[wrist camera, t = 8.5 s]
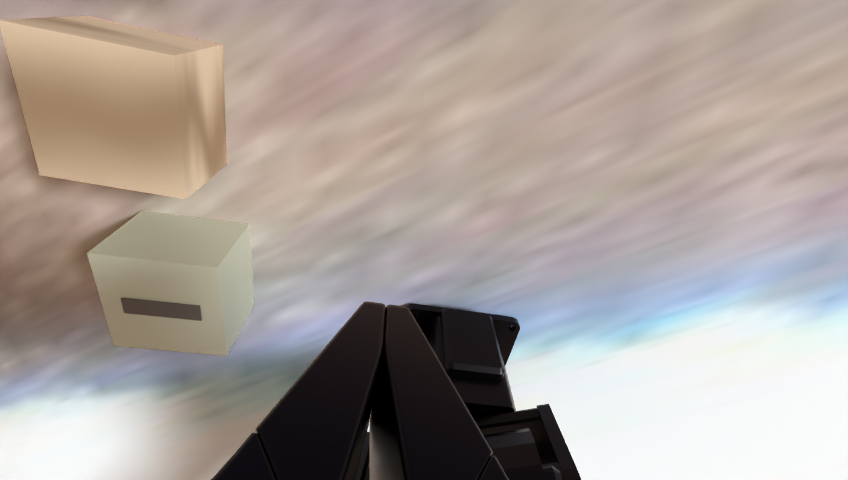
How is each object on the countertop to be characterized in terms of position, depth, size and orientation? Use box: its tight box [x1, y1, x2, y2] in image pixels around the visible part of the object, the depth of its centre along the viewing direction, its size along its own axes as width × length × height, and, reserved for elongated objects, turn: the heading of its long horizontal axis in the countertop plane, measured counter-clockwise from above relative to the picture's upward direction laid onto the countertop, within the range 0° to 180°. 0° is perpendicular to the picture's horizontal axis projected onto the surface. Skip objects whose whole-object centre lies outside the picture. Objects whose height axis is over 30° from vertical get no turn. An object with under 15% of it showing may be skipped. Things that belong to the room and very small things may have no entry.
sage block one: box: [87, 211, 254, 356], centre depth 20 cm, size 5×5×4 cm
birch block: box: [0, 16, 227, 199], centre depth 16 cm, size 5×5×4 cm
